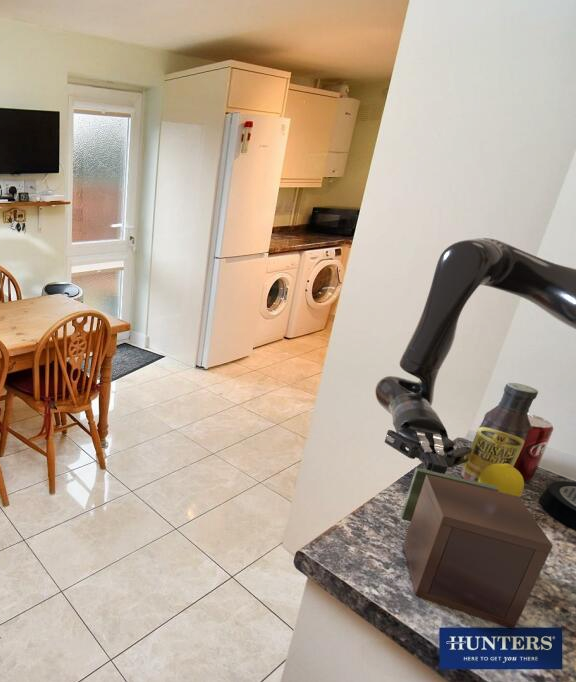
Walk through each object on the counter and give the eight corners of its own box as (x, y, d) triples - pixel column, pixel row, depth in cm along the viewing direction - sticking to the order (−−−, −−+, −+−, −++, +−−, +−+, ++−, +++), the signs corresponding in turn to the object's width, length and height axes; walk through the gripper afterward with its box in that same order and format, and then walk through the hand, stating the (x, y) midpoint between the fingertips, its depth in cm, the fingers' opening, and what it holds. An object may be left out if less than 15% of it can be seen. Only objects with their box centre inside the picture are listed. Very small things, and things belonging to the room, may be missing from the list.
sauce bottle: (456, 480, 84) (491, 384, 78) (462, 468, 88) (495, 375, 82) (503, 497, 80) (544, 397, 73) (507, 483, 84) (545, 387, 77)
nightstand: (402, 546, 68) (426, 474, 64) (487, 572, 63) (519, 496, 59) (415, 595, 59) (443, 515, 55) (514, 629, 55) (553, 545, 51)
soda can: (524, 469, 88) (546, 415, 84) (537, 489, 82) (562, 432, 78) (476, 458, 92) (495, 406, 88) (486, 476, 86) (506, 421, 82)
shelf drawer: (398, 512, 73) (414, 462, 70) (473, 532, 69) (493, 481, 66) (411, 557, 64) (429, 502, 61) (498, 584, 60) (523, 527, 57)
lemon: (511, 518, 74) (528, 477, 72) (469, 501, 78) (483, 462, 76) (516, 504, 78) (533, 465, 75) (475, 489, 82) (489, 451, 79)
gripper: (382, 400, 90) (395, 439, 75) (466, 416, 84) (497, 462, 70) (373, 433, 92) (384, 477, 78) (453, 450, 86) (482, 502, 72)
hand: (437, 470), depth 74 cm, fingers closed
